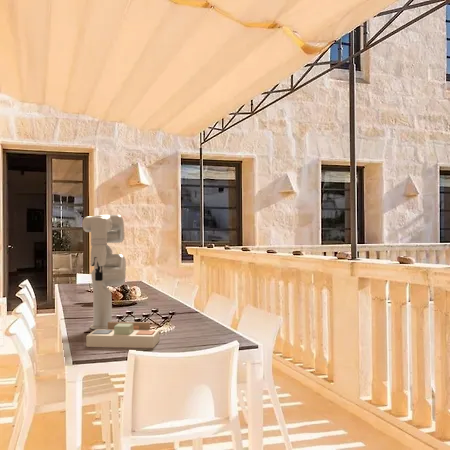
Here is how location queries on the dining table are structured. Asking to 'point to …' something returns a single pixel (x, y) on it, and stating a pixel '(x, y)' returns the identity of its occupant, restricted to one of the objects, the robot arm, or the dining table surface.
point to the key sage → (123, 328)
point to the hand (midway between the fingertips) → (98, 280)
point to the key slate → (102, 332)
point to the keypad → (124, 337)
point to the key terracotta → (145, 332)
